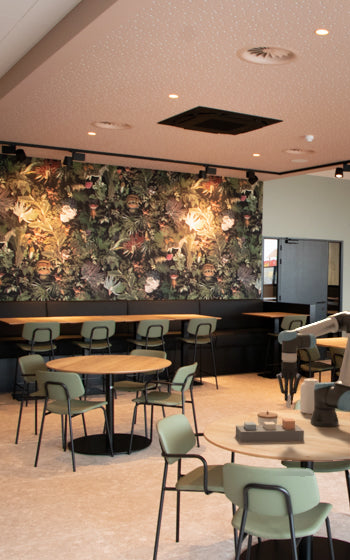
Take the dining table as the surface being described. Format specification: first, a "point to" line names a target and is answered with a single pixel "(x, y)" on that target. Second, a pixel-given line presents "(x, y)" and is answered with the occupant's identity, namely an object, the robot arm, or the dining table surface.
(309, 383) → the can
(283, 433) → the console
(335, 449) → the dining table surface
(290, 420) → the key terracotta
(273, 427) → the key ivory
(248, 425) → the grey cube
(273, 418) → the lidded jar
